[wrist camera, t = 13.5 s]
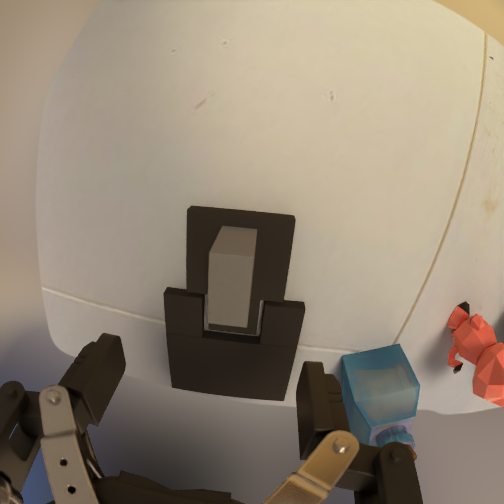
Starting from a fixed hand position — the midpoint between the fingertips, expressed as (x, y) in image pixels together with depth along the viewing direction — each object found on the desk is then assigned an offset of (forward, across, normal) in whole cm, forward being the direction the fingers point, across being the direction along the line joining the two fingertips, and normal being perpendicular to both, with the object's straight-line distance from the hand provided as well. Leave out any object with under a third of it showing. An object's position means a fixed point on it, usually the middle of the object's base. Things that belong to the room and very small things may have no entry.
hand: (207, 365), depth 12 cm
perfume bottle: (+13, -15, +12) cm, 23 cm away
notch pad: (+13, 0, +10) cm, 17 cm away
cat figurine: (+13, -24, +6) cm, 28 cm away
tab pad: (+13, 0, +2) cm, 13 cm away
